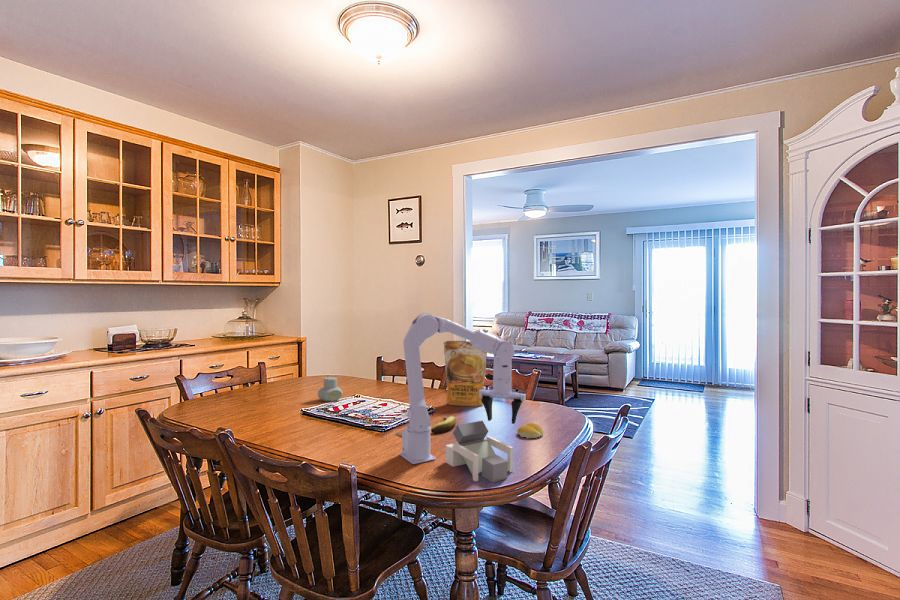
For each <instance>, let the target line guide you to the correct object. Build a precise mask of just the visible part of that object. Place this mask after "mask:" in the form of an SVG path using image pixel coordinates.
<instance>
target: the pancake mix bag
mask: <svg viewBox="0 0 900 600" xmlns="http://www.w3.org/2000/svg"><path fill="white" fill-rule="evenodd" d="M443 348H444V349H443V350H444V353H443V355H444V368H445V377H446V392H447V394H446V401H445V405H449V406H458V407H473V408H474V407H475V408H476V407H482V406H483V407H484V405H483V403H482V401H481V399H482V397H479V391H480V390H485V389H484V386H485V380H486V371H487V358H488V357H487V355H488V353H487V352H485V351H482V350H480V349H478V348H475V347H473V346H472V344H471V342H470V341H469V340H446V341H444V342H443Z"/></svg>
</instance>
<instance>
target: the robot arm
mask: <svg viewBox="0 0 900 600" xmlns="http://www.w3.org/2000/svg"><path fill="white" fill-rule="evenodd" d="M437 333H439V334H442V333H450V334H452V335H455V336H458V337H460V338H464V339H465V340H466V341H469V342H471V344H472V346H473V347H475V348H478V349H480V350H482V351H485V352H487V354H489V355H493V367H492V371H493V372H492V373H493V377H492V389H484V390H480V391H479V397H482V399H481V401H482V403H483V407H484V410H485V413H486V417H487V421H488V422H491V420H493V399H503V400H512V401H511V424H513V425H514V424H515V423H516V420H517V416H518V413H519V410H520V408H521V405H522V403H523V402H525V401H527V400H526V399H527V397H526V395H527V394H526V393H522V392H515V391H512V382H513V381H512V379H513V377H512V372H513V371H512V369H513V368H512V367H513V363H512V358H513V357H514V355H515V353H516V350H515V347H514V346H513V343H512V342H509V341H508V340H506V339H504V338H502V336H499V335H497V336H496V335H494V334H491V333H489V331H488V330H487V329H485V328H482V329H480V328H479V329H477V330H471V329H469V328H467V327H466V326H463V325H460V324H459V323H457V322H454V321H452V320H450V319H448V318H444V317H442V316H438V315H434V316H433V315H432V314H430V313H426V312H423V313H421V314H419V315H417V316H416V317H415V319H413V320H412V322H411V325H410V326H409V329H408V330H407V333H406V334H405V336H404V338H403V341H402V343H403V350H404V351H403V352H404V359H405V361H404V362H405V371H406V379H407V388H408V390H407V391H408V395H409V396H408V398H409V399H408V400H409V401H408V402H409V408H408V409H407V410H408V411H407V417H408V421H409V423H408V425H407V426H406V427H405V428H404V429H403V431H402V432H403V433H402V437H401V452H399V453H398V454H399V455H400V456H401V457H402V458H403V459H405V460H406V461H408V462H409V463H410V464H412V465H416V464H421V463H425V462H429V461H435V460H436V459H437V457H435V456H434V455H432V454H431V440H430V439H431V429H432V427H431V423H432V421H431V417H430V414H429V412H428V409H427V404H426V401H425V400H426V399H425V390H424V389H425V388H424V383H423V382H424V381H423V380H424V379H423V372H422V363H421V362H422V361H421V353H420V351H421V350H420V346H421V345H423V343H425V341H426V340H427V339H428V338H431V337H433V336H434V335H435V334H437Z"/></svg>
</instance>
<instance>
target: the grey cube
mask: <svg viewBox="0 0 900 600" xmlns="http://www.w3.org/2000/svg"><path fill="white" fill-rule="evenodd" d="M507 468H508V459H507V460H506V459H505V458H503V457H501V456H499V455H497V454H496V455H493V456H489V457H485V458H482V473H481V477H483V478H484V477H485V478H484V479H486V480H488V481H490V482H491V483H496V482H499V481H502V480H506V479H508V471H507Z"/></svg>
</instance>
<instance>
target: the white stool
mask: <svg viewBox="0 0 900 600" xmlns="http://www.w3.org/2000/svg"><path fill="white" fill-rule="evenodd" d="M484 439H485V438H484ZM484 439H483V440H484ZM486 439H488V441H489V443H490V445H491V447H492V448H493V447H494V448H496V449H498V450H500V451H501V452H504V453H506V454H507V461H508V468H507V472H508V471H509V472H508V473H513V472H512V471H514V447H513V446H511V445H509V444H507V443H504V441H500V440H498V439H496V438H495V437H492V436H490V435H486ZM463 456H464V457H466V458H468V459H469V460H471V461H473V476H472V481H474V482H479V474H478V464H479V455H477V454H476V453H474V452H472V451H470V450H468V449H467V448H465V447H463V446H461V445H459V444H458V442H452V443H450V444H446V445H445V463H446V464H448V465H449V466H450V467H452V468H453V467H458V466H459V467H460V466H462V465H467V464H466V462H465V460H464V458H463Z"/></svg>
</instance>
